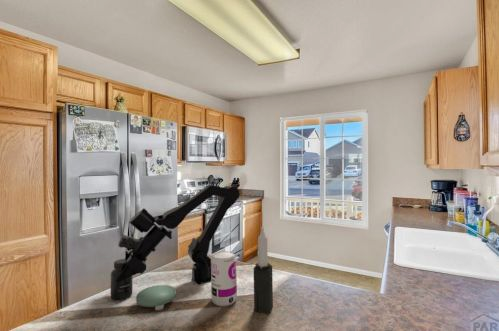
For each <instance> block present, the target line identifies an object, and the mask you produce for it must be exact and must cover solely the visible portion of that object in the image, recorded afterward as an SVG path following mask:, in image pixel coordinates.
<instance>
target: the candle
mask: <svg viewBox="0 0 499 331" xmlns="http://www.w3.org/2000/svg"><path fill="white" fill-rule="evenodd" d="M260 229H261V230H260V234H259V235H258V237H257V262H256V263H255V266H254V267H253V310H254V312H255V313H263V314H266V315H267V314H270V313H271V312H272V311H273V308H274V303H273V302H274V300H273V299H274V297H273V294H274V293H273V291H274V288H273V283H274V282H273V281H274V280H273V265H272V264H270V263H269V262H268V258H269V256H268V253H269V252H268V237H267V236H266V233H265V230H264V227H263V226H261V228H260Z"/></svg>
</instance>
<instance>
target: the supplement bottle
mask: <svg viewBox="0 0 499 331" xmlns="http://www.w3.org/2000/svg"><path fill="white" fill-rule="evenodd" d="M126 260H127V259H125V258H119V259H117V260H115V261H113V269H112V271H111V272H110V299H111V300H113V301H116V302H117V301H118V302H119V301H124V300H127V299H129V298H130V297H132V295H133V280H134V279H133V276H134V275H133V276H131V277H129V278H127V279H125V280H123V281H121V282H119V283H118V282H116V279H117V278H118V276H119V275H120V273H121V272H122V271H123V269H124V268H125V266H126Z"/></svg>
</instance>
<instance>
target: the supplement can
mask: <svg viewBox="0 0 499 331" xmlns="http://www.w3.org/2000/svg"><path fill="white" fill-rule="evenodd" d="M210 259H211V281H210V282H211V284H210V285H211V286H210V287H211V296H210V297H211V302H212V303H213V304H214V305H215V306H219V307H228V306H231V305H233V304H234V303H235V302H236V301H237V299H238V292H237V291H238V289H237V288H238V286H237V284H238V283H237V281H238V280H237V276H238V275H237V274H238V273H237V257H236V255H235V254H234V252H232V251H226V250H225V251H222V250H221V251H217V252H214V253H213V254H212V257H211V258H210Z"/></svg>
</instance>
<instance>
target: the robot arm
mask: <svg viewBox="0 0 499 331" xmlns="http://www.w3.org/2000/svg"><path fill="white" fill-rule="evenodd" d="M240 194H241V193H240V189H238V188H237V186H232V185H231V186H230V185H226V186H222V187H221V186H218V185H217V186H215V185H213V184H207V185H206V186H204V188H202V189H201V190H200V191H198V192H197V193H196V194H194V195H192V197H190V198H189V199H187V200H186V201H185V202H183V203H182V204H180V205H178V206H176V207H173V208H171V209H170V210H167V211H165V212H163V213H162V214H159V215H156V216H153V214H151V213H149V211H148V210H147V209H146V208H144V207H143V208H142V209H141V210H139V211H138V212H137V213H135V214H134V215H133V216H132V217H131V219H130V220H129V221H128V223H129V224H130V225H131V226H132V227H134V229H136V230H138V231H139V232H140V233H141V234H142V233H146V234H145V235H144V236H140V237H139V238H135V237H132V236H129V235H126V234H122V236H121V237H120V239H119V242H118V247H119V248H121V249H123V248H125V249H126V250H125V251H124V255H125V256H124V259H127V260H126V266H125V268H124V269H123V271H122V272H121V273H120V275H119V276H118V278H117V279H116V282H118V283H119V282H121V281H123V280H125V279H127V278H129V277H131V276H136V275H137V274H138V275H139V274H142V275H143V274H144V273H145V271H146V270H147V263H146V261H147V260H148V256H150V255H151V254H152V253H154V252H155V251H156V248H157V247H158V246H159V244H160V243H161V242H162V241H163V240H164V239H165V238H166V237H167V238H168V239H170V240H171V239H172V238H173V236H172V232H173V231H172V230H173V229H176V228H177V227H178V226H179V225H181V223H182V222H183V221H184V220H185V219H186V217H187V216H188V215H189V214H190V213H191V212H192V211H194V210H195V209H197V208H198V207H199V206H201V204H203V203H204V202H206V201H207V200H209V199H210V198H211V197H212V196H214V197H215V196H216V197H218V202H217V204H216V207H215V209H214V210H213V212H212V214H211V216H210V217H209V220H207V223H206V224H205V226H204V227H203V228H204V229H203V230H202V231H201V234H200V235H199V236H198V237H197V238H195V237H193V238H192V239H191V242H190V243H189V245H188V246H187V247H188V249H187V256H188V257H189V258H190V260H191V261H192V262H193V265H192V268H191V279H192V281H194V282H195V284H197V285H201V284H205V283H208V282H211V259H212V258H211V257H210V256H209V255H208V253H209V250H210V245H211V241H212V239H213V237H214V235H215V234H216V232H217V230H218V229H219V226H220V224H221V223H222V221H223V220H224V217H225V215H226V214H227V211H228V210H229V209H230V208H231V207H233V205H235V203H236V202H237V201H238V200H239V198H240V196H241V195H240ZM168 229H170V230H168Z"/></svg>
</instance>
